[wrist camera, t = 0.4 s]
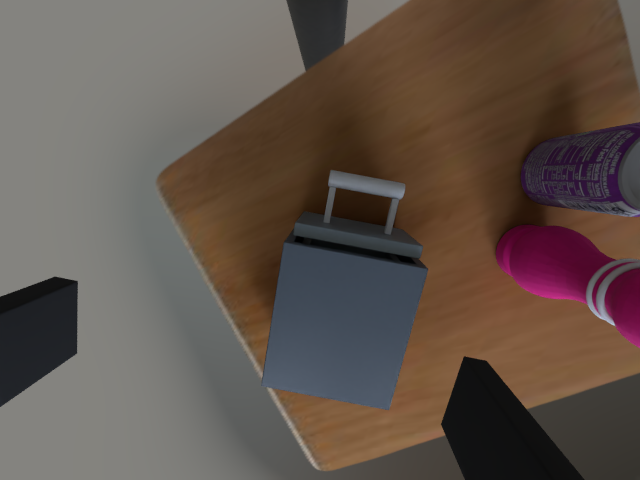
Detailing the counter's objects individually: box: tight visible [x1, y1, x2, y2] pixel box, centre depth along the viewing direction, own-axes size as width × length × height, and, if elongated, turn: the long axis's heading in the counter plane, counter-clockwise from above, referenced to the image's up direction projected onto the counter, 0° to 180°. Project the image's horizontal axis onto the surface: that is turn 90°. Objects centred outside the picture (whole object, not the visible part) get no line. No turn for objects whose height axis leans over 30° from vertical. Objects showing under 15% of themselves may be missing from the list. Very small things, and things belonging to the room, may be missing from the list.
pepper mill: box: [496, 224, 640, 348], centre depth 25 cm, size 7×7×20 cm
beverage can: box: [521, 122, 640, 217], centre depth 26 cm, size 7×7×12 cm
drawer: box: [293, 170, 423, 262], centre depth 31 cm, size 18×11×8 cm, turn 170°
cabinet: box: [261, 229, 428, 410], centre depth 32 cm, size 15×13×10 cm
